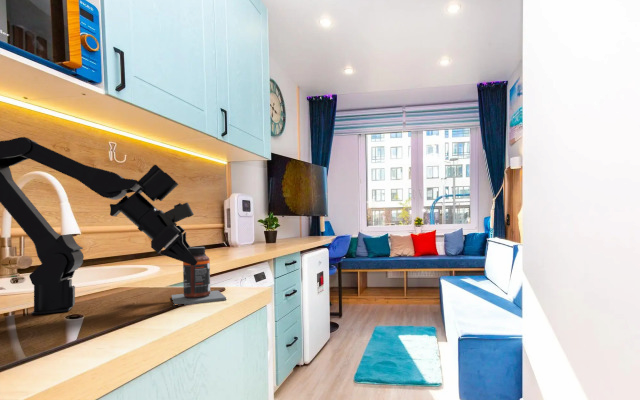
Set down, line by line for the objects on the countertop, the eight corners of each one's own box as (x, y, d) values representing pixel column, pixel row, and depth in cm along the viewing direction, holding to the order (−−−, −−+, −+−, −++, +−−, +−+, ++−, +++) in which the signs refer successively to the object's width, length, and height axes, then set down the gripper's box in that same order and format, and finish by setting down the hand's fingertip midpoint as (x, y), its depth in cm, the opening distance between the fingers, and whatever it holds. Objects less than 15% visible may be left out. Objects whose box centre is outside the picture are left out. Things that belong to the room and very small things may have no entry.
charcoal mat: (174, 305, 84) (174, 303, 84) (171, 297, 94) (171, 295, 94) (226, 300, 88) (226, 297, 88) (218, 292, 98) (218, 290, 98)
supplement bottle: (215, 294, 92) (215, 246, 93) (197, 299, 87) (196, 248, 88) (197, 293, 95) (196, 246, 96) (177, 297, 90) (177, 248, 90)
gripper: (167, 187, 82) (222, 238, 84) (175, 194, 100) (220, 235, 102) (126, 225, 79) (184, 277, 82) (141, 225, 97) (189, 267, 100)
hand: (196, 262), depth 91 cm, fingers open, 9 cm apart
